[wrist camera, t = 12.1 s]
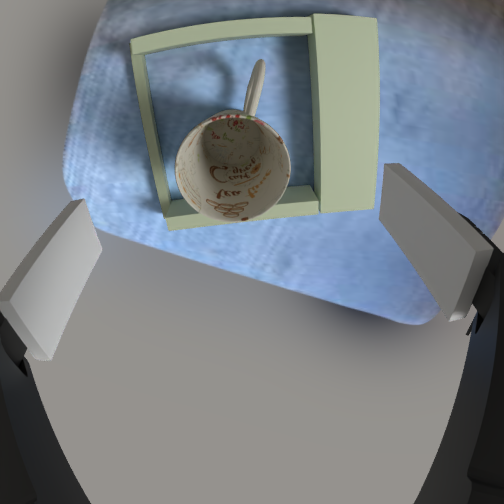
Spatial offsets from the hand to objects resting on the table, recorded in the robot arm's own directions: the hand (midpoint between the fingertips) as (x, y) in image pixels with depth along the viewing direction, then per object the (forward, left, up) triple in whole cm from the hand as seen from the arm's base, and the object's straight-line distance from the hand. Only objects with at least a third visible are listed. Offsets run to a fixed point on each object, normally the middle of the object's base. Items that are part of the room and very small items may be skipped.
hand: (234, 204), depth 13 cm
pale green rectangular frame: (0, +3, -20) cm, 20 cm away
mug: (0, 0, -20) cm, 20 cm away
